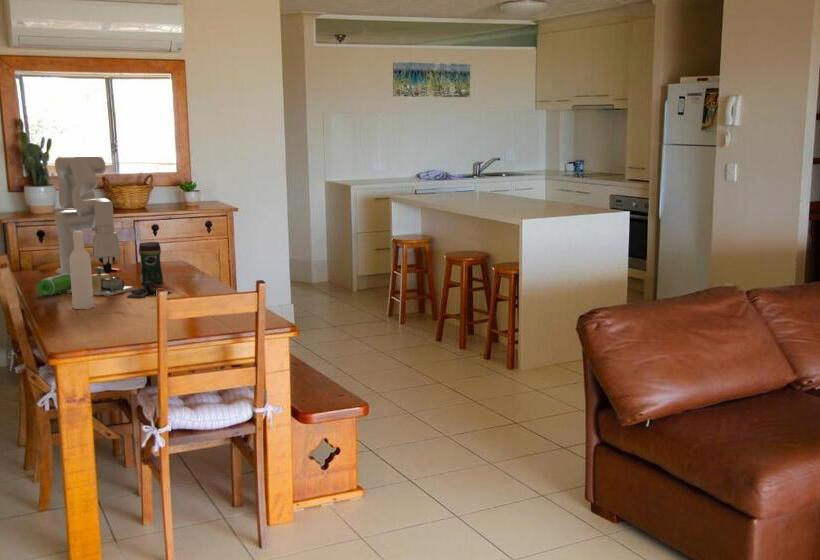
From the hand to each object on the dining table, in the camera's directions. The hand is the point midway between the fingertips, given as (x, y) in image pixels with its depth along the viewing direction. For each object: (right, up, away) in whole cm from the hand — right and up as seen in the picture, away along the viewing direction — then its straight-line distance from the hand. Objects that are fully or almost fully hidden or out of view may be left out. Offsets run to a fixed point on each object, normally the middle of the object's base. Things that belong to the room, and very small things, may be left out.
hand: (107, 273), depth 369 cm
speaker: (-24, -9, +7) cm, 26 cm away
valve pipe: (-6, -8, +8) cm, 13 cm away
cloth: (+18, -10, +2) cm, 21 cm away
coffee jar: (+10, -4, +28) cm, 30 cm away
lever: (-1, -1, +4) cm, 5 cm away
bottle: (-1, -14, -26) cm, 29 cm away
